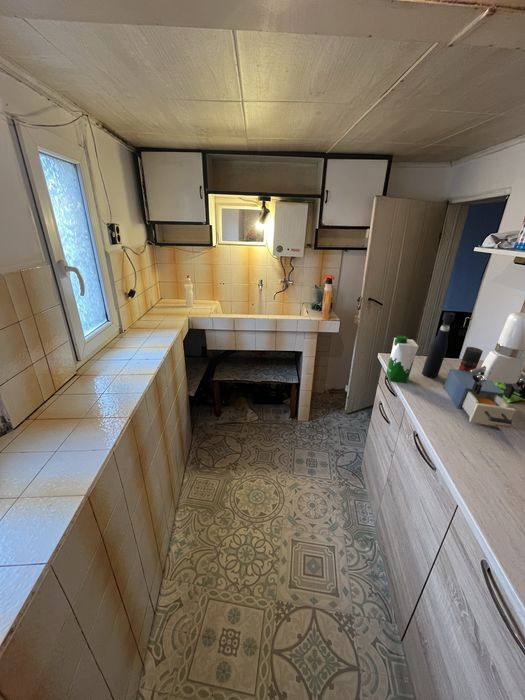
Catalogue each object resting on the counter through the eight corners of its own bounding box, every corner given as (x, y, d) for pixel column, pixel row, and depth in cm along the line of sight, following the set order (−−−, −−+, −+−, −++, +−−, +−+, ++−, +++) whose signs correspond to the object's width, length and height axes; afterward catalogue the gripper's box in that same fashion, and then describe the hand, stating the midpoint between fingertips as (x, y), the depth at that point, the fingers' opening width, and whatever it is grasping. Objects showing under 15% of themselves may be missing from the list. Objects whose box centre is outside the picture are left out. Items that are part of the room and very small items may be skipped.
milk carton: (383, 372, 131) (393, 332, 123) (404, 374, 130) (415, 334, 121) (388, 382, 123) (399, 340, 115) (409, 384, 122) (422, 342, 114)
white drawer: (515, 437, 92) (524, 419, 89) (476, 430, 94) (484, 413, 91) (486, 403, 109) (494, 387, 106) (454, 398, 111) (460, 383, 108)
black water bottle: (420, 375, 130) (440, 313, 117) (422, 370, 135) (442, 309, 122) (436, 380, 127) (458, 316, 114) (437, 374, 131) (459, 312, 119)
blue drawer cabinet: (494, 414, 105) (504, 393, 101) (457, 408, 107) (465, 388, 103) (476, 391, 119) (483, 373, 115) (443, 387, 121) (450, 368, 117)
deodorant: (453, 375, 131) (463, 346, 125) (467, 377, 130) (478, 347, 124) (458, 381, 126) (470, 351, 120) (473, 383, 125) (485, 353, 118)
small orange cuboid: (486, 409, 104) (490, 399, 102) (492, 417, 100) (497, 406, 98) (472, 407, 105) (476, 397, 103) (478, 415, 101) (482, 404, 99)
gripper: (533, 349, 93) (512, 392, 100) (475, 343, 97) (459, 385, 104) (548, 358, 87) (525, 404, 94) (485, 352, 90) (467, 396, 97)
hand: (490, 394), depth 99 cm, fingers open, 9 cm apart
